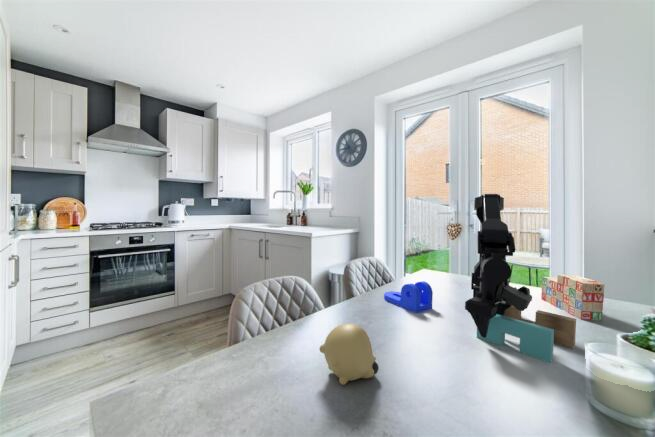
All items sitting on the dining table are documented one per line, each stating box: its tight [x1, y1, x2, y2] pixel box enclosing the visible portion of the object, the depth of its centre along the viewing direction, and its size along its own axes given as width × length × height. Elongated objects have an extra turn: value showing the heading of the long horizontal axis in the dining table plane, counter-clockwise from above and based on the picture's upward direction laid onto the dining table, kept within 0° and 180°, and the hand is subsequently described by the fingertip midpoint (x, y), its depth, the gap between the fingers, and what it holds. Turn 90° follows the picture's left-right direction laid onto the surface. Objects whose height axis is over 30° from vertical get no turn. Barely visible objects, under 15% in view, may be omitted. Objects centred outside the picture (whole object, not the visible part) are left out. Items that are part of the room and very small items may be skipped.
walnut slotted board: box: [504, 306, 577, 349], centre depth 79 cm, size 20×2×7 cm, turn 40°
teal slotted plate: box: [476, 314, 555, 363], centre depth 70 cm, size 16×2×7 cm, turn 40°
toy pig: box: [318, 323, 380, 386], centre depth 57 cm, size 10×12×11 cm
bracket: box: [383, 280, 434, 314], centre depth 103 cm, size 18×8×9 cm, turn 31°
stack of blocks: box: [540, 273, 605, 322], centre depth 100 cm, size 21×6×12 cm, turn 172°
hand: (490, 332), depth 74 cm, fingers open, 9 cm apart
